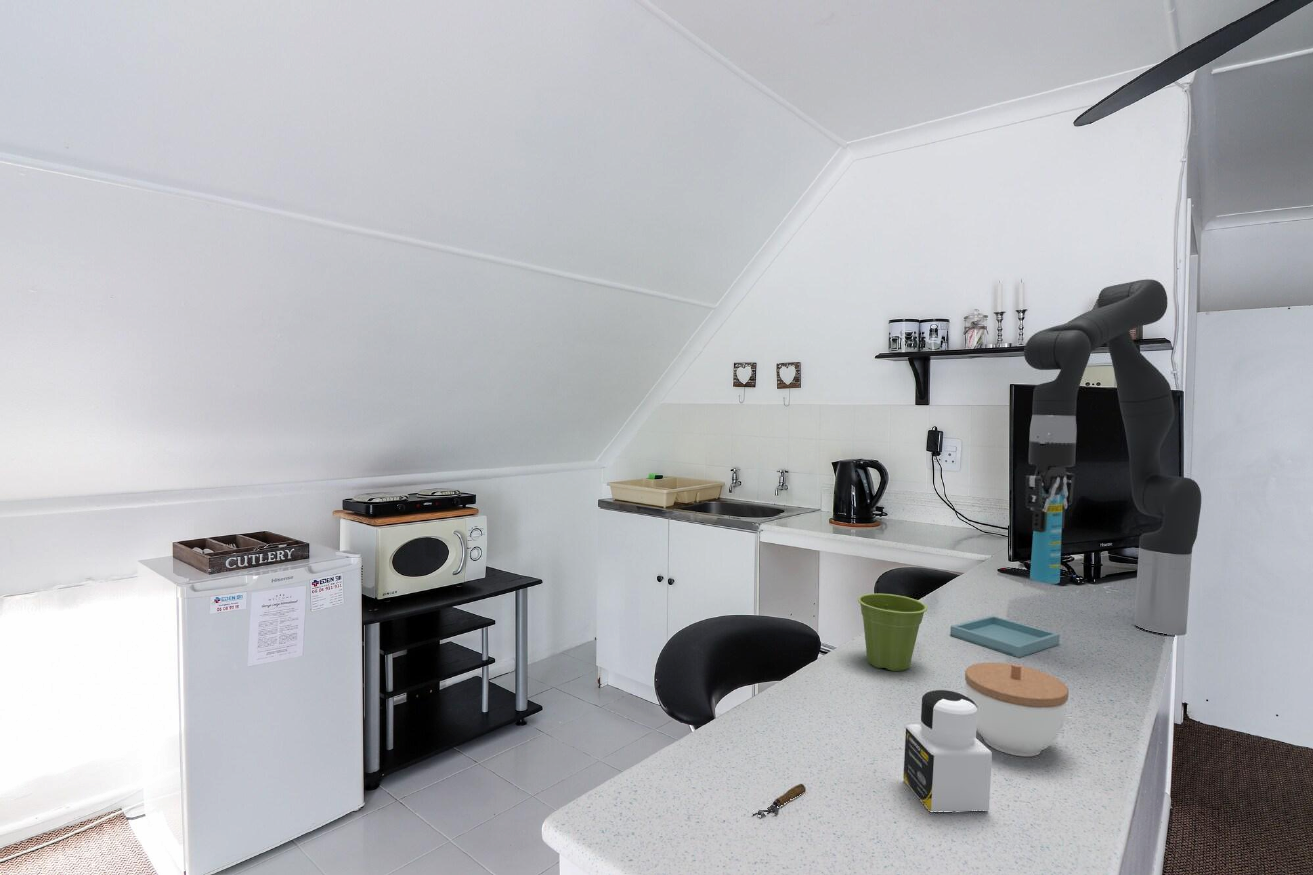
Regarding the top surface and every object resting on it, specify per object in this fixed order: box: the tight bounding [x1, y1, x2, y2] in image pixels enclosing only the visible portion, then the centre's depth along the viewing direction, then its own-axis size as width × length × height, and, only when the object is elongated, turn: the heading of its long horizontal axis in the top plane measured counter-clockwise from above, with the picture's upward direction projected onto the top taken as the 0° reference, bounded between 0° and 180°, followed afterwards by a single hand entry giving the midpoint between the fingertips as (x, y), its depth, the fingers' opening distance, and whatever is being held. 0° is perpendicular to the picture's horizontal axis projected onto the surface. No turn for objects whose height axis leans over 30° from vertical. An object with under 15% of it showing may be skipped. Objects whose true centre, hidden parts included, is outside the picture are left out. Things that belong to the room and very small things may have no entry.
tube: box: [1029, 488, 1063, 584], centre depth 131 cm, size 7×5×19 cm, turn 125°
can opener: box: [757, 783, 807, 816], centre depth 80 cm, size 9×2×1 cm, turn 128°
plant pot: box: [857, 593, 929, 672], centre depth 125 cm, size 12×12×11 cm
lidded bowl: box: [964, 662, 1069, 758], centre depth 96 cm, size 13×13×11 cm
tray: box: [949, 615, 1061, 659], centre depth 141 cm, size 15×14×2 cm
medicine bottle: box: [903, 689, 993, 812], centre depth 83 cm, size 7×7×12 cm
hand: (1048, 529), depth 130 cm, fingers closed on tube, 6 cm apart
